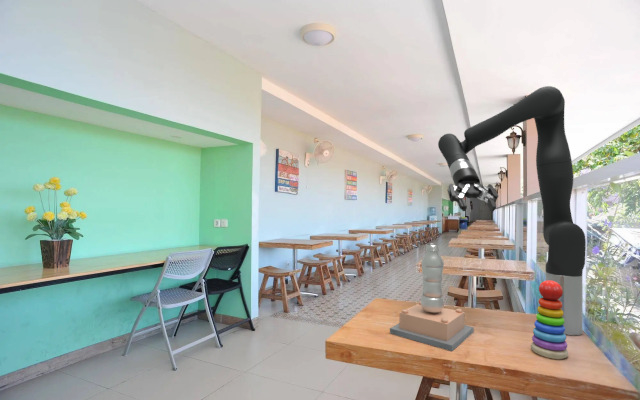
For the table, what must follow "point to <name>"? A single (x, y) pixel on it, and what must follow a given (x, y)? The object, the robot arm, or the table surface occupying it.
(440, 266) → the plastic bottle
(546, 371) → the table surface
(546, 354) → the stacking toy
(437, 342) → the brick tower base
